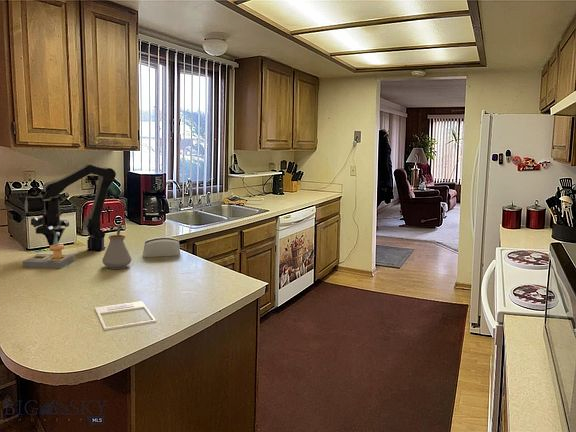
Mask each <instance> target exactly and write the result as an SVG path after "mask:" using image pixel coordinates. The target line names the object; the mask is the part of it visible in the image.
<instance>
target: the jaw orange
mask: <svg viewBox="0 0 576 432" xmlns="http://www.w3.org/2000/svg"><path fill="white" fill-rule="evenodd" d="M50 249H51V250H53V251H52V255H53V259H62V255H63V252H62V251H63V250H64V249H65V245H64V244H63V243H61V244H60V243H58V244H55V245H51V246H49V250H50Z"/></svg>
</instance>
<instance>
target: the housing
mask: <svg viewBox="0 0 576 432" xmlns="http://www.w3.org/2000/svg"><path fill="white" fill-rule="evenodd" d="M74 261H75V260H74V254H62V259H53V254H48V253H46V254H45V253H43V254H42V253H37V254H35V255H32V256H31V257H29V258H26V259H25V260H22V268H31V269H33V268H34V269H56V270H57V269H59V270H60V269H62V268H64V267H66V266H68V265H69V264H71V263H72V262H74Z"/></svg>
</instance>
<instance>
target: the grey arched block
mask: <svg viewBox="0 0 576 432" xmlns="http://www.w3.org/2000/svg"><path fill="white" fill-rule="evenodd" d="M180 248H181V246H180V240H179V239H178V238H175V237H170V236H159V237H158V236H157V237H153V238H149V239H146V240H145V241H144V244H143V251H142V257H143V258H150V257H151V258H153V257H165V256H166V257H168V256H169V257H170V256H171V257H172V256H180V255H181V249H180Z"/></svg>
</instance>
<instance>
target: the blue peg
mask: <svg viewBox="0 0 576 432" xmlns="http://www.w3.org/2000/svg"><path fill="white" fill-rule="evenodd" d="M54 232H57V231H54ZM59 235H60V232H57V233H56V237H55V241H54V244H53V245H55V244H59V243H58V238H57V236H59ZM49 251H50V252H53V250H51V249H50V248H49Z"/></svg>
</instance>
